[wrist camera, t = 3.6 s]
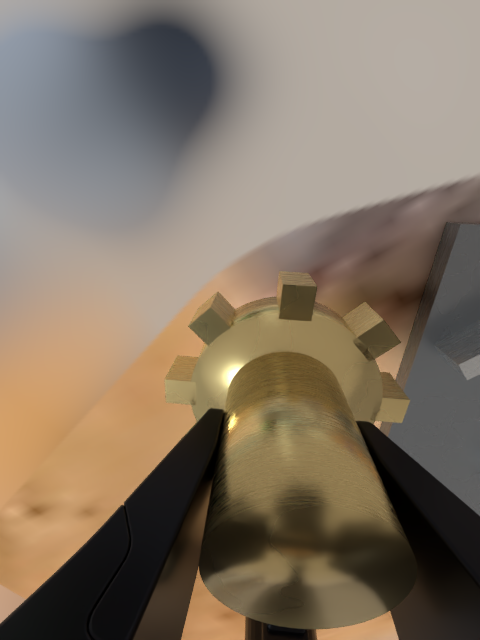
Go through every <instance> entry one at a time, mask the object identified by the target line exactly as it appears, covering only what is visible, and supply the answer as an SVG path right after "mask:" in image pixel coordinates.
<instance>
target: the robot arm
mask: <svg viewBox="0 0 480 640" xmlns="http://www.w3.org/2000/svg"><path fill="white" fill-rule="evenodd" d="M223 417H224V410H223V409H219V408H210V409H208V410H207V411H206V413H205V414H204V415H203V416H202V417H201V418H200V419H199V420H198V421H197V423H196V424H195V425H194V426H193V427H192V428H191V429H190V430H189V431H188V432H187V434H186V435H185V436H184V437H183V438H182V439H181V440H180V441H179V442H178V443H177V445H176V446H175V447H174V448H173V449H172V450H171V451H170V452H169V453H168V454H167V456H166V457H165V458H164V459H163V460H162V461H161V462H160V463H159V464H158V465H157V467H156V468H155V469H154V470H153V471H152V472H151V473H150V474H149V475H148V476H147V478H146V479H145V480H144V481H143V482H142V483H141V484H140V485H139V486H138V487H137V489H136V490H135V491H134V492H133V493H132V494H131V495H130V496H129V497H128V498H127V500H126V501H125V502H124V505H121V506H120V507H119V508H118V509H117V510H116V511H115V513H114V514H113V515H112V516H111V517H110V518H109V519H108V520H107V521H106V522H105V523H104V525H103V526H102V527H101V528H100V529H99V530H98V531H97V532H96V533H95V534H94V535H93V536H92V537H91V538H90V539H89V540H88V541H87V542H86V543H85V544H84V545H83V546H82V547H81V548H80V549H79V550H78V551H77V552H76V553H75V554H74V555H73V556H72V557H71V558H70V559H69V560H68V561H67V562H66V563H65V564H64V565H63V566H62V567H61V568H59V569H58V570H57V571H56V572H55V573H54V574H53V575H52V576H51V577H50V578H49V579H48V580H47V581H46V582H45V583H43V584H42V585H41V586H40V587H39V588H38V589H37V590H36V591H35V592H34V593H33V594H32V595H31V596H29V597H28V598H27V599H26V600H25V601H24V602H23V603H22V604H21V605H20V606H19V607H18V608H17V609H16V610H15V611H13V612H12V613H11V614H10V615H9V616H8V617H7V618H6V619H5V620H4V621H3V622H2V623H1V624H0V640H181V637H182V633H183V628H184V624H185V620H186V616H187V612H188V608H189V604H190V599H191V595H192V591H193V587H194V583H195V579H196V575H197V570H198V566H199V557H200V551H201V545H202V539H203V533H204V527H205V521H206V516H207V510H208V504H209V498H210V492H211V486H212V480H213V475H214V469H215V463H216V458H217V452H218V447H219V441H220V435H221V429H222V423H223ZM356 423H357V425H358V427H359V429H360V432H361V434H362V436H363V439H364V441H365V443H366V445H367V448H368V450H369V452H370V455H371V457H372V459H373V462H374V464H375V466H376V468H377V471H378V473H379V475H380V478H381V480H382V482H383V484H384V487H385V489H386V491H387V494H388V496H389V498H390V501H391V503H392V505H393V507H394V510H395V512H396V514H397V517H398V519H399V521H400V523H401V526H402V528H403V530H404V533H405V535H406V537H407V540H408V542H409V544H410V546H411V549H412V551H413V553H414V556H415V559H416V562H417V578H416V582H415V584H414V587H413V589H412V590H411V592H410V593H409V595H408V596H407V597H406V598H405V599H404V600H403V601H402V602H401V603H400V604H398V605H397V606H396V607H395V608H393V609H392V610H390V611H391V615H392V618H393V621H394V624H395V628H396V631H397V634H398V638H399V640H480V516H479V515H478V514H477V513H476V512H475V511H474V510H472V509H471V508H470V507H469V506H468V505H467V504H465V503H464V502H463V501H462V500H461V499H460V498H458V497H457V496H456V495H455V494H454V493H453V492H451V491H450V490H449V489H448V488H447V487H446V486H444V485H443V484H442V483H441V482H440V481H439V480H437V479H436V478H435V477H434V476H433V475H432V474H430V473H429V472H428V471H427V470H426V469H425V468H423V467H422V466H421V465H420V464H419V463H418V462H416V461H415V460H414V459H413V458H412V457H411V456H409V455H408V454H407V453H406V452H405V451H404V450H402V449H401V448H400V447H399V446H398V445H397V444H395V443H394V442H393V441H392V440H391V439H390V438H388V437H387V436H386V435H385V434H384V433H383V432H381V431H380V430H379V429H378V428H377V427H376V426H375V425H373V424H372V423H371V422H368V421H356ZM245 640H317V635H316V629H298V628H288V627H282V626H276V625H272V624H267V623H264V622H260V621H257V620H254V619H251V618H249V617H246V621H245Z"/></svg>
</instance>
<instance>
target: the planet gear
mask: <svg viewBox="0 0 480 640" xmlns="http://www.w3.org/2000/svg"><path fill="white" fill-rule="evenodd" d="M316 291H317V286H316V284H315V283H314V281H313V280H312V278H311V277H310V275H309V274H308V273H298V272H283V271H279V279H278V288H277V297H269V298H264V299H260V300H255V301H253V302H250V303H247V304H245V305H243V306H241V307H239V308H237V309H234V308H233V307H232V306H231V305H230V304H229V302H228V301H227V300H226V299H225V298H224V297H223V296H222V295H221V294H220V293H219V292H217V293H215V294H214V295H213V296H212V297H211V298H210V299H209V300H207V301H206V302H205V303H204V304H203V305H202V306H201V307H199V309H198V310H197V312H196V314H195V315H194V317H193V319H192V321H191V322H190V324H189V326H188V327H189V328H191V329H192V330H193V331H194V332H195V333H196V334H197V335H198V336H199V337H200V338H201V339H202V340H203V341H204V342H205V343H204V346H203V348H202V351H201V353H200V356H199V357H188V356H177V357H176V359H175V361H174V363H173V365H172V367H171V369H170V370H169V372H168V374H167V376H166V378H165V394H166V403H177V404H189V405H191V406H192V409H193V413H194V415H195V418H196V420H197V421H198V420H199V419H200V418H201V417H202V416H203V415H204V414H205V413H206V411H207V410H208V409H210V408H219V409H223V410H224V417H223V423H222V429H221V435H220V441H219V447H218V452H217V458H216V463H215V469H214V475H213V480H212V486H211V492H210V498H209V504H208V510H207V516H206V521H205V527H204V533H203V539H202V545H201V551H200V557H199V571H200V575H201V578H202V580H203V582H204V584H205V586H206V587H207V589H208V590H209V591H210V592H211V594H212V595H213V596H215V597H216V598H217V599H218V600H219V601H220V602H222V603H223V604H224V605H226V606H227V607H229V608H230V609H232V610H234V611H236V612H238V613H240V614H242V615H244V616H246V617H249V618H251V619H254V620H257V621H260V622H264V623H267V624H272V625H276V626H282V627H288V628H298V629H329V628H338V627H345V626H350V625H355V624H358V623H362V622H365V621H368V620H371V619H374V618H376V617H378V616H381V615H383V614H385V613H386V612H388V611H390V610H392V609H393V608H395V607H396V606H397V605H398V604H400V603H401V602H402V601H403V600H404V599H405V598H406V597H407V596H408V595H409V593H410V592H411V590H412V589H413V587H414V584H415V582H416V578H417V562H416V559H415V556H414V553H413V551H412V549H411V546H410V544H409V542H408V540H407V537H406V535H405V533H404V530H403V528H402V526H401V523H400V521H399V519H398V517H397V514H396V512H395V510H394V507H393V505H392V503H391V501H390V498H389V496H388V494H387V491H386V489H385V487H384V484H383V482H382V480H381V478H380V475H379V473H378V471H377V468H376V466H375V464H374V462H373V459H372V457H371V455H370V452H369V450H368V448H367V445H366V443H365V441H364V439H363V436H362V434H361V432H360V429H359V427H358V425H357V423H356V421H368V422H371V423H372V424H374V422H375V421H384V422H395V423H402V422H403V419H404V416H405V413H406V411H407V408H408V405H409V402H410V399H409V398H408V397H407V395H406V394H405V393H404V391H403V390H402V389H401V387H400V386H399V385H398V383H397V382H396V381H395V379H394V378H393V377H392V375H391V374H390V373H388V372H380V371H379V367H378V365H377V363H376V361H375V358H377V357H379V356H380V355H382V354H383V353H385V352H387V351H388V350H390V349H391V348H393V347H395V346H396V345H398V344H399V343H401V342H400V340H399V339H398V338H397V336H396V335H395V334H394V333H393V331H392V330H391V329H390V327H389V326H388V325H387V323H386V322H385V321H384V320H383V319H382V318H381V317H380V316H379V315H378V314H377V313H376V312H375V311H374V310H373V309H372V308H371V307H370V306H369V305H368V304H367V303H366V302H364V303H362V304H361V305H359V306H358V307H356V308H355V309H354V310H352V311H351V312H349V313H348V314H346V315H345V316H344V317H341V316H340V315H339V314H338V313H336V312H335V311H333V310H332V309H330V308H328V307H326V306H325V305H322V304H320V303H317V302H315V297H316Z"/></svg>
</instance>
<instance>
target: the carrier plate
mask: <svg viewBox="0 0 480 640" xmlns="http://www.w3.org/2000/svg"><path fill="white" fill-rule="evenodd" d="M395 381H396V382H397V383H398V385H399V386H400V387H401V389H402V390H403V391H404V393H405V394H406V395H407V397H408V398H409V399H410V402H409V405H408V408H407V411H406V413H405V416H404V419H403V422H402V423H395V422H384V421H382V424H381V427H380V431H381V432H383V433H384V434H385V435H386V436H387V437H388V438H390V439H391V440H392V441H393V442H394V443H395V444H397V445H398V446H399V447H400V448H401V449H402V450H404V451H405V452H406V453H407V454H408V455H409V456H411V457H412V458H413V459H414V460H415V461H416V462H418V463H419V464H420V465H421V466H422V467H423V468H425V469H426V470H427V471H428V472H429V473H430V474H432V475H433V476H434V477H435V478H436V479H437V480H439V481H440V482H441V483H442V484H443V485H444V486H446V487H447V488H448V489H449V490H450V491H451V492H453V493H454V494H455V495H456V496H457V497H458V498H460V499H461V500H462V501H463V502H464V503H465V504H467V505H468V506H469V507H470V508H471V509H472V510H474V511H475V512H476V513H477V514H478V515H479V516H480V224H470V223H453V222H447V223H446V226H445V229H444V232H443V235H442V238H441V241H440V244H439V248H438V251H437V254H436V257H435V260H434V263H433V266H432V269H431V272H430V275H429V278H428V282H427V285H426V288H425V291H424V294H423V297H422V300H421V303H420V306H419V309H418V312H417V316H416V319H415V322H414V325H413V328H412V331H411V334H410V337H409V340H408V343H407V346H406V350H405V353H404V356H403V359H402V362H401V365H400V368H399V371H398V374H397V377H396V380H395Z"/></svg>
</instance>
